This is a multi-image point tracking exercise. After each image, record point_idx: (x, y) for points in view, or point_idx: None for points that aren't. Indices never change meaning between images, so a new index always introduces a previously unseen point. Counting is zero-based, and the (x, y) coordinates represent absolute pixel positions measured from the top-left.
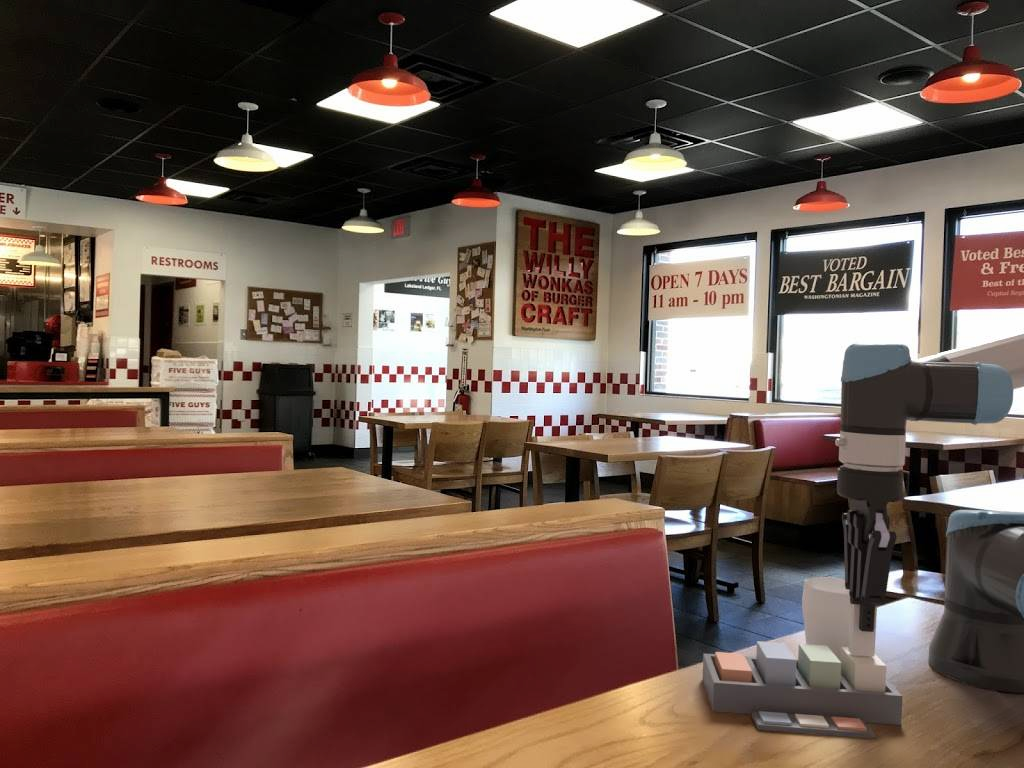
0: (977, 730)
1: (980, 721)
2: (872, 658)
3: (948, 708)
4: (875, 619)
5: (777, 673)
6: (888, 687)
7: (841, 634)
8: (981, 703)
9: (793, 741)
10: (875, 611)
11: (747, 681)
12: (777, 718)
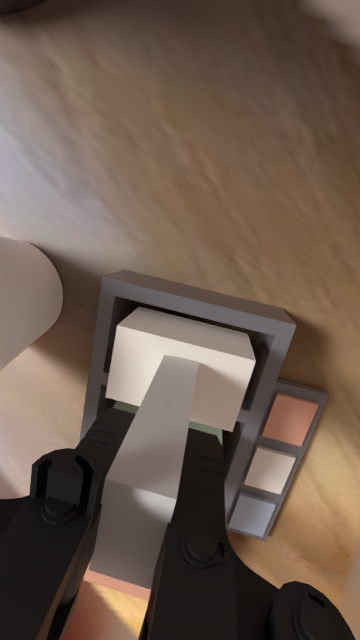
0: (332, 148)
1: (290, 103)
2: (198, 366)
3: (215, 141)
4: (185, 441)
5: None
6: (244, 327)
7: (8, 342)
8: (193, 18)
9: (308, 508)
10: (179, 471)
11: None
12: (258, 516)
